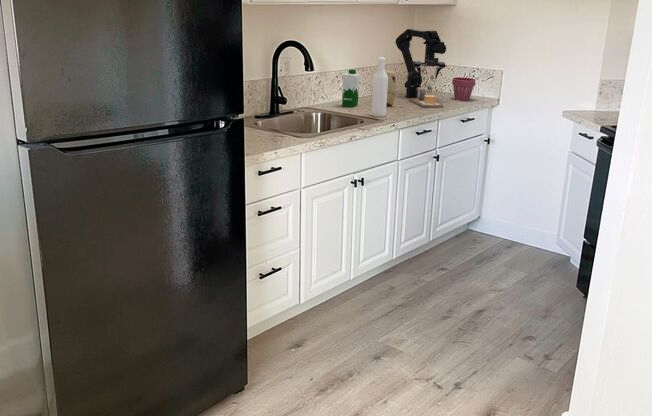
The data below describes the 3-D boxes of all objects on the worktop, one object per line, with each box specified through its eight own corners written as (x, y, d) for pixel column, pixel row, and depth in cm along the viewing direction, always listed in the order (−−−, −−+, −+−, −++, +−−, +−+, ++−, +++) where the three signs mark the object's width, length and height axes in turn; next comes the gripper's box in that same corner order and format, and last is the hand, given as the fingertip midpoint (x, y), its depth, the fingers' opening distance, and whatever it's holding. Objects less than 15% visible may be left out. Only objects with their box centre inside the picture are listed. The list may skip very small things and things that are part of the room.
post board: (408, 100, 379) (409, 88, 377) (427, 100, 382) (428, 88, 379) (423, 108, 357) (424, 94, 355) (443, 107, 360) (444, 94, 357)
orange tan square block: (424, 103, 361) (425, 96, 359) (423, 101, 366) (424, 95, 365) (435, 104, 361) (435, 97, 359) (434, 102, 366) (434, 95, 365)
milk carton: (359, 105, 360) (361, 70, 354) (354, 107, 352) (356, 71, 346) (345, 104, 363) (346, 68, 356) (339, 106, 355) (341, 70, 348)
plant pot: (475, 101, 383) (477, 80, 379) (452, 101, 383) (454, 79, 379) (471, 98, 397) (473, 77, 393) (448, 97, 397) (450, 76, 393)
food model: (376, 105, 362) (378, 70, 355) (381, 103, 367) (383, 69, 360) (391, 107, 357) (393, 71, 350) (396, 105, 362) (399, 70, 356)
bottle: (371, 116, 329) (374, 58, 319) (370, 113, 336) (373, 56, 327) (386, 117, 329) (390, 58, 319) (385, 114, 337) (388, 57, 327)
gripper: (415, 53, 366) (413, 80, 371) (447, 54, 365) (445, 81, 370) (413, 51, 376) (411, 77, 381) (444, 52, 376) (442, 78, 381)
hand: (427, 79), depth 378 cm, fingers open, 9 cm apart
